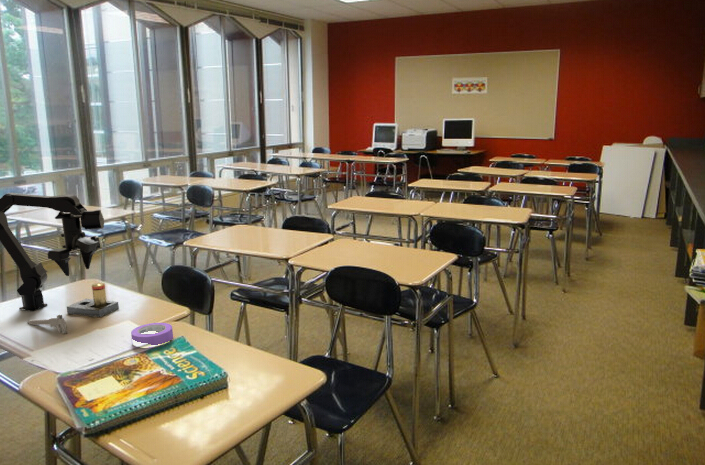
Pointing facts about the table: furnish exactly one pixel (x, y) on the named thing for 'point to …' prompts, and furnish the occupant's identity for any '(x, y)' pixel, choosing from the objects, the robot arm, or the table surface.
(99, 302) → the tan cylindrical container
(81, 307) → the grey flat block
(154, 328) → the masking tape
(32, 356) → the table surface
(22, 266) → the robot arm
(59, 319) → the caliper
